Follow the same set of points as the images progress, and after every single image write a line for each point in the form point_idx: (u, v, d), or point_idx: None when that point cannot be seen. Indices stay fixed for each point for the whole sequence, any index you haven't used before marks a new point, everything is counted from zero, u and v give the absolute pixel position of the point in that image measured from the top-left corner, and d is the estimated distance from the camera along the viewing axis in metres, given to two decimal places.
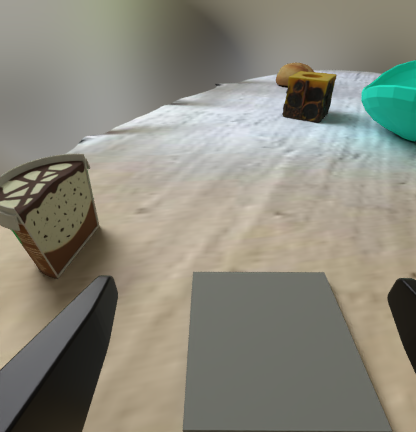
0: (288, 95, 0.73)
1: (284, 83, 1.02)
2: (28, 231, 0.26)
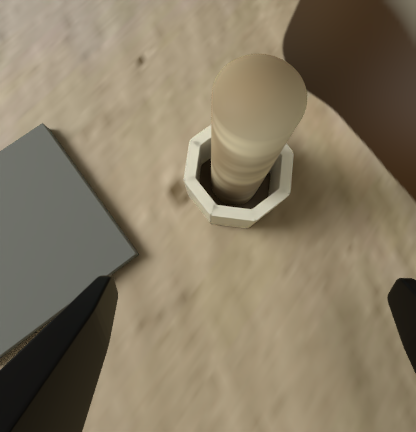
0: None
1: None
2: None
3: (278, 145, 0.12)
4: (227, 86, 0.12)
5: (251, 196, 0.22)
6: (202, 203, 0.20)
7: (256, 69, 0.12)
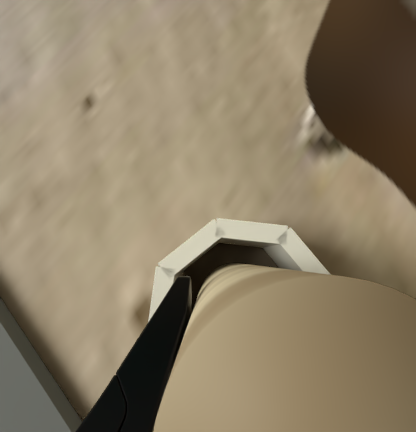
0: None
1: None
2: None
3: None
4: (212, 425, 0.03)
5: None
6: None
7: (320, 345, 0.03)
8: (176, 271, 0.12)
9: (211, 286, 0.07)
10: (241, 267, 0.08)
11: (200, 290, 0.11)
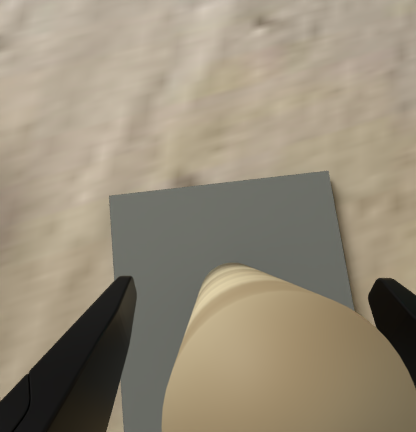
0: None
1: None
2: None
3: None
4: (204, 394, 0.04)
5: None
6: None
7: (280, 340, 0.04)
8: None
9: (209, 289, 0.09)
10: (235, 271, 0.10)
11: (200, 289, 0.12)
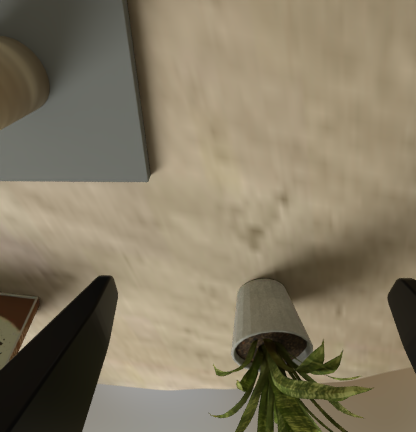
0: None
1: None
2: None
3: None
4: None
5: (21, 59, 0.15)
6: None
7: None
8: None
9: None
10: None
11: None
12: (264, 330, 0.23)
